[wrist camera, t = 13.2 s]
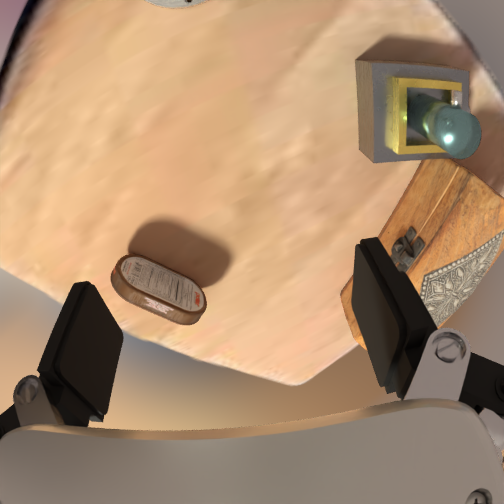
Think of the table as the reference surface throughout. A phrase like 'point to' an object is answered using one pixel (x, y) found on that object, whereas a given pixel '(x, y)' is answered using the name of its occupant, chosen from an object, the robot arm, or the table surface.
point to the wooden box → (441, 237)
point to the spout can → (446, 124)
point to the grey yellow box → (401, 106)
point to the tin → (158, 289)
